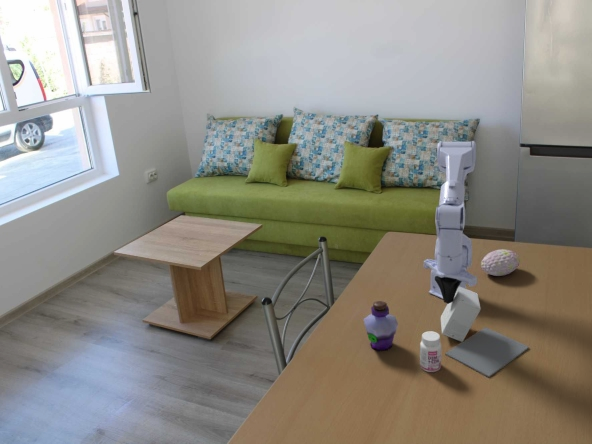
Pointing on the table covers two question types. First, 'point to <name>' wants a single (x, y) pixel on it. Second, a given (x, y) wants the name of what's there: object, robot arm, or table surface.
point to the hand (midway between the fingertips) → (448, 301)
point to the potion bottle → (380, 326)
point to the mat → (487, 351)
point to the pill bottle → (430, 351)
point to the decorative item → (500, 262)
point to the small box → (460, 314)
